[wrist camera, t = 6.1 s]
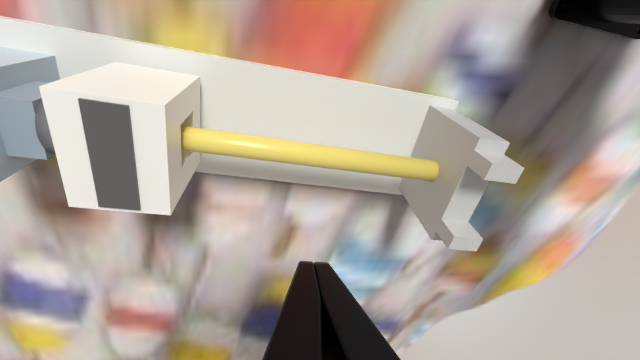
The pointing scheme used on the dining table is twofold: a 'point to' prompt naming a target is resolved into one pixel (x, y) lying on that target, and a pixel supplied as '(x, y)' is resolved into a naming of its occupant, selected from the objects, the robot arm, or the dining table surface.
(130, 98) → the marker sleeve
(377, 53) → the dining table surface
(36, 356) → the dining table surface
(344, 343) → the robot arm
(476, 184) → the cord rig
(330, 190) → the dining table surface
